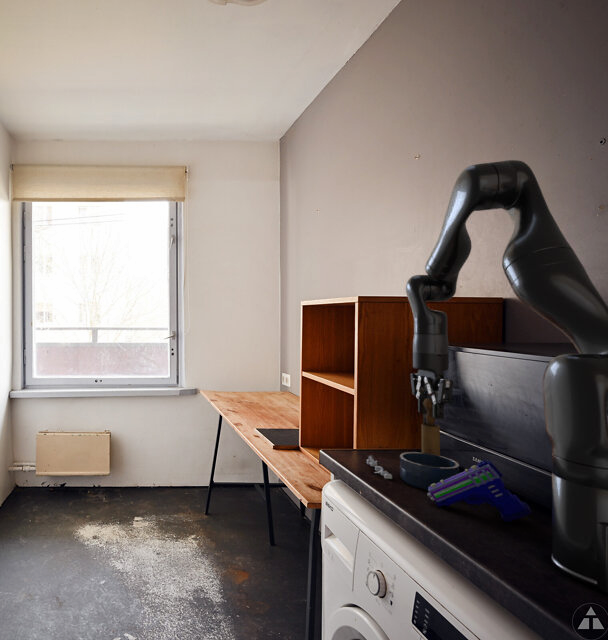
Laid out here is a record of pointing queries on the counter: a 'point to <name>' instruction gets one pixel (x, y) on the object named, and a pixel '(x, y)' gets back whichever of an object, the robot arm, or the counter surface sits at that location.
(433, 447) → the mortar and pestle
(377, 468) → the figurines set
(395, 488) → the counter surface
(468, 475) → the toy gun
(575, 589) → the counter surface
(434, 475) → the blue bowl
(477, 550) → the counter surface
